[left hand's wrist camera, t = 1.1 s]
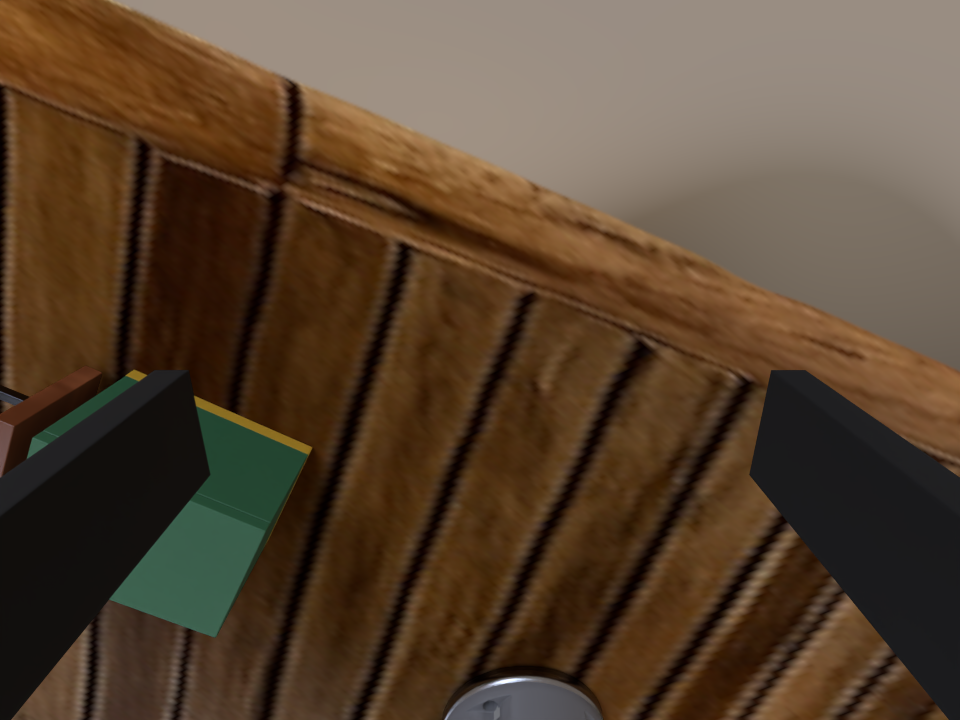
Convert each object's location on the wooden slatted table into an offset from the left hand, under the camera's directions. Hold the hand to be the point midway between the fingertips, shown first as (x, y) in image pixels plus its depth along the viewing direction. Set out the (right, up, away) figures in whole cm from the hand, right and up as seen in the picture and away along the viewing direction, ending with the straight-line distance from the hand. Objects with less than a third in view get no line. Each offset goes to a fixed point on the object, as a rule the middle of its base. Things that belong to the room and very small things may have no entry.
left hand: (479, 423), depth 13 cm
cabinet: (-21, -6, +29) cm, 36 cm away
